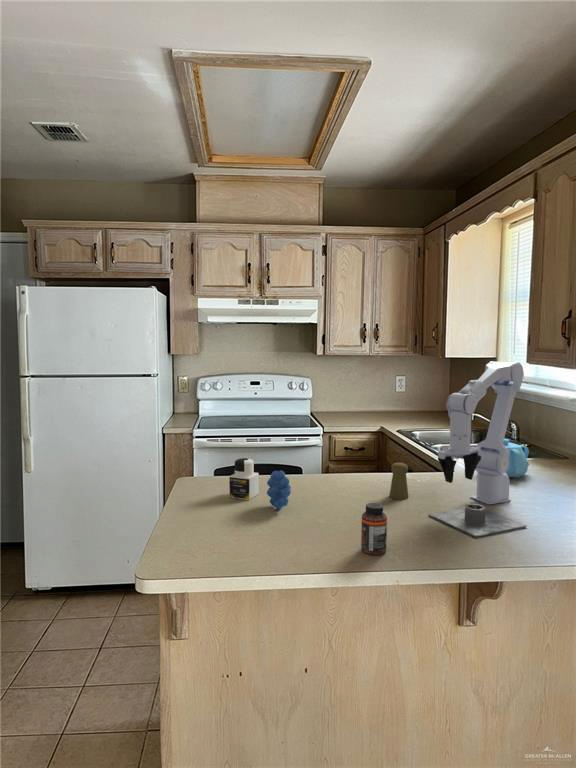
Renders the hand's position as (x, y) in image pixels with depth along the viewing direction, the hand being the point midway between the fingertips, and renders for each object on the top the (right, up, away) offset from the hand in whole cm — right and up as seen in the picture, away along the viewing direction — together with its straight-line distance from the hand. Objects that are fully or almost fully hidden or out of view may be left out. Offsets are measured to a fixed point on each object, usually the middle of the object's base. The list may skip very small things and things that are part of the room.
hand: (458, 480), depth 149 cm
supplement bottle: (-30, -12, -27) cm, 42 cm away
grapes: (-52, -9, +3) cm, 53 cm away
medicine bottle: (-64, -8, +15) cm, 66 cm away
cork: (-14, -8, +15) cm, 22 cm away
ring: (+2, -9, -7) cm, 12 cm away
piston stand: (+2, -10, -8) cm, 13 cm away
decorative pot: (+30, -6, +41) cm, 52 cm away
